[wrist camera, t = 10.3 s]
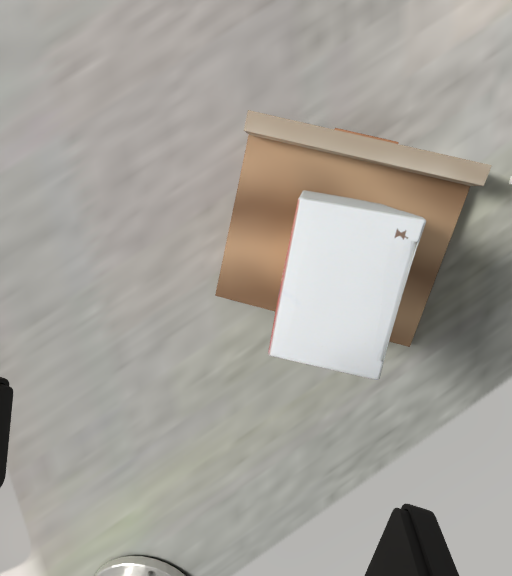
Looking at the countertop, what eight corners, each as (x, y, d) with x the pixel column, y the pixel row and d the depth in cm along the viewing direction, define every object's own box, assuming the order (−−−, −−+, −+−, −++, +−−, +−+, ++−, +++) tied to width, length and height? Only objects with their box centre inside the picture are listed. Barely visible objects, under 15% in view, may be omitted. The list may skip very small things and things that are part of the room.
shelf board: (406, 341, 29) (416, 358, 26) (218, 292, 30) (208, 303, 27) (472, 164, 26) (492, 161, 23) (255, 115, 27) (248, 106, 24)
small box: (302, 188, 26) (297, 190, 16) (384, 203, 26) (430, 215, 16) (280, 297, 29) (264, 358, 19) (355, 313, 28) (380, 384, 18)
